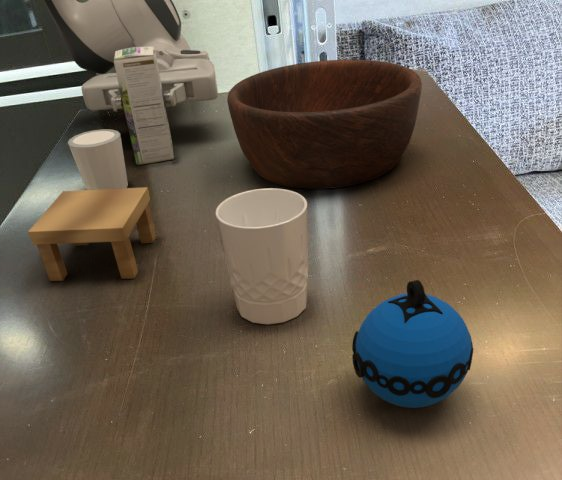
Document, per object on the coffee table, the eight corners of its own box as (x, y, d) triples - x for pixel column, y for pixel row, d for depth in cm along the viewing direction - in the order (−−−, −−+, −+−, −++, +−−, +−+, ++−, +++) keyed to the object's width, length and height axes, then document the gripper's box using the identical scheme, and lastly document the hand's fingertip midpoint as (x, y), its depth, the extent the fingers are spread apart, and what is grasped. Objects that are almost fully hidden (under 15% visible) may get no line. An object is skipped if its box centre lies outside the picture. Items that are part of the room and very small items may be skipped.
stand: (46, 282, 67) (27, 231, 63) (78, 239, 75) (62, 191, 71) (136, 280, 66) (122, 227, 62) (159, 235, 73) (147, 186, 70)
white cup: (214, 309, 60) (196, 211, 54) (273, 275, 64) (263, 181, 58) (271, 339, 55) (258, 237, 49) (330, 301, 59) (326, 201, 53)
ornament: (489, 415, 46) (508, 299, 39) (380, 445, 44) (382, 330, 38) (434, 349, 52) (443, 241, 46) (337, 374, 51) (333, 266, 44)
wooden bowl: (267, 216, 75) (258, 129, 68) (218, 151, 94) (207, 78, 87) (453, 174, 80) (460, 89, 73) (370, 121, 98) (371, 49, 92)
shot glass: (106, 175, 90) (93, 126, 85) (142, 182, 87) (130, 130, 82) (72, 194, 86) (56, 143, 81) (108, 201, 82) (94, 148, 78)
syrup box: (136, 153, 96) (111, 50, 87) (174, 147, 97) (153, 44, 88) (136, 166, 92) (110, 58, 83) (176, 159, 92) (155, 52, 83)
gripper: (88, 62, 98) (65, 86, 87) (217, 49, 97) (209, 72, 86) (99, 104, 102) (78, 131, 91) (223, 92, 101) (216, 119, 90)
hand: (143, 103), depth 89 cm, fingers closed on syrup box, 6 cm apart
